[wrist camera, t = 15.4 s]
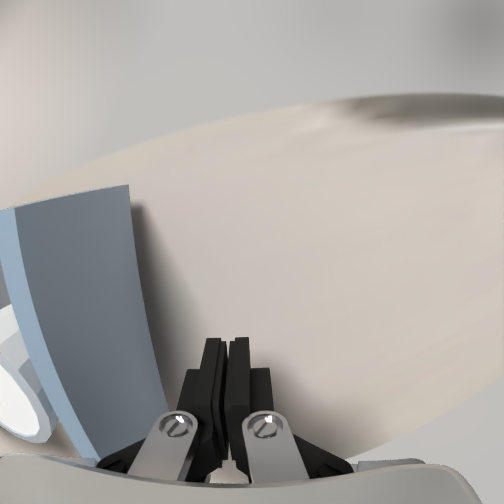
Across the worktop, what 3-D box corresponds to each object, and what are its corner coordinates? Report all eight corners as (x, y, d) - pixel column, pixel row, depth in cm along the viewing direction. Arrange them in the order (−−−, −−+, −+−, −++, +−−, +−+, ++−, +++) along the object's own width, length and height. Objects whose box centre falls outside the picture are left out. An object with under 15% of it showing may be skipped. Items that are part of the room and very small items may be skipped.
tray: (20, 385, 18) (-31, 448, 10) (-31, 213, 14) (-119, 242, 6) (168, 410, 18) (139, 515, 10) (128, 184, 14) (14, 208, 6)
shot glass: (116, 319, 16) (57, 397, 9) (89, 390, 17) (47, 461, 10) (27, 258, 15) (-52, 302, 8) (14, 337, 16) (-42, 389, 10)
